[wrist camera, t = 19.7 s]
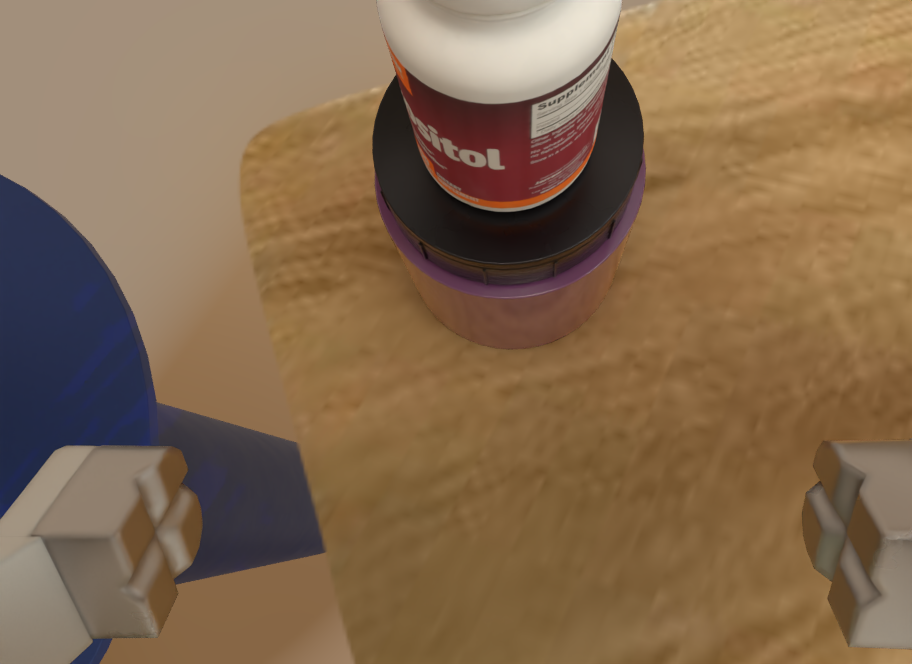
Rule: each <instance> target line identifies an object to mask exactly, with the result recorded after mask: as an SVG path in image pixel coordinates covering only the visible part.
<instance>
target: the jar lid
mask: <svg viewBox="0 0 912 664" xmlns="http://www.w3.org/2000/svg"><path fill="white" fill-rule="evenodd" d="M643 142H644V131H643V120H642V115H641V111H640V107H639V103H638V100H637V98H636V95H635V93H634V90H633V88H632V86H631V85H630V83H629V81H628V79H627V78H626V76H625V74H624V73H623V71H622V70H621V69H620V68H619V66H618V65H617V64H616V62H615V61H614V60H613V59H612V58H611V62H610V68H609V74H608V79H607V84H606V88H605V94H604V99H603V104H602V109H601V115H600V120H599V126H598V131H597V136H596V140H595V144H594V147H593V150H592V153H591V155H590V157H589V160H588V162H587V164H586V165H585V167H584V169H583V170H582V172H581V173H580V175H579V176H578V177H577V178H576V179H575V181H574V182H573V183H572V184H571V185H570V186H569V187H568V188H567V189H565V190H564V191H563V192H562V193H560V194H559V195H557V196H556V197H554V198H553V199H551V200H549V201H547V202H545V203H543V204H541V205H539V206H536V207H533V208H530V209H526V210H521V211H512V212H496V211H489V210H484V209H480V208H476V207H474V206H471V205H469V204H466V203H464V202H462V201H460V200H458V199H456V198H455V197H453V196H452V195H450V194H449V193H448V192H446V191H445V190H444V189H443V188H442V187H441V186H440V185H439V184H438V183H437V182H436V181H435V179H434V178H433V177H432V175H431V174H430V172H429V171H428V169H427V167H426V165H425V163H424V161H423V159H422V156H421V154H420V151H419V148H418V145H417V142H416V138H415V135H414V131H413V128H412V124H411V121H410V118H409V115H408V112H407V108H406V104H405V101H404V98H403V95H402V93H401V88H400V85H399V82H398V78H397V75H396V76H395V77H394V79H393V80H392V82H391V84H390V85H389V87H388V88H387V90H386V92H385V94H384V97H383V99H382V101H381V103H380V106H379V109H378V112H377V116H376V119H375V124H374V131H373V149H372V153H373V161H374V168H375V172H376V175H377V179H378V182H379V185H380V188H381V191H380V193H381V195H382V197H383V199H384V202H385V204H386V206H387V208H388V210H391V212H392V214H393V216H394V218H395V220H396V222H397V224H398V226H399V227H400V229H401V231H402V232H403V234H404V235H405V237H406V238H407V239H408V240H409V241H410V243H411V244H412V245H413V246H414V247H415V248H416V249H417V250H418V251H419V252H420V253H421V254H422V255H423V257H424V259H425V260H427V259H428V260H430V261H431V262H433V263H434V264H436V265H437V266H439V267H440V268H442V269H444V270H446V271H448V272H450V273H452V274H454V275H457V276H460V277H463V278H466V279H469V280H472V281H477V282H482V283H485V285H488V284H499V285H511V284H524V283H530V282H535V281H540V280H543V279H546V278H549V277H553V278H555V277H556V275H558V274H560V273H562V272H564V271H566V270H569V269H571V268H572V267H574V266H575V265H577V264H579V263H580V262H582V261H584V260H585V259H586V258H587V257H589V256H590V255H591V254H592V253H594V252H595V251H596V250H597V249H598V248H599V247H600V246H601V245H602V244H603V243H604V242H605V241H606V240H607V239H610V238H611V236H612V233H613V231H614V229H615V228H616V226H617V225H618V223H619V222H620V220H621V218H622V216H623V214H624V212H625V210H626V207H627V205H628V202H629V199H630V196H631V193H632V190H633V187H634V184H635V181H636V180H637V177H638V174H639V171H640V168H641V165H642V162H643V159H642V154H643Z"/></svg>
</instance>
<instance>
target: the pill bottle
mask: <svg viewBox="0 0 912 664" xmlns="http://www.w3.org/2000/svg"><path fill="white" fill-rule="evenodd" d="M376 3H377V9H378V14H379V18H380V22H381V26H382V30H383V33H384V36H385V39H386V42H387V45H388V49H389V52H390V55H391V58H392V62H393V65H394V68H395V71H396V75H397V78H398V82H399V85H400V88H401V93H402V95H403V98H404V101H405V104H406V108H407V112H408V115H409V118H410V121H411V124H412V128H413V131H414V135H415V138H416V142H417V145H418V148H419V151H420V154H421V156H422V159H423V161H424V163H425V165H426V167H427V169H428V171H429V172H430V174H431V175H432V177H433V178H434V179H435V181H436V182H437V183H438V184H439V185H440V186H441V187H442V188H443V189H444V190H445V191H446V192H448V193H449V194H450V195H452V196H453V197H455V198H456V199H458V200H460V201H462V202H464V203H466V204H469V205H471V206H474V207H476V208H480V209H484V210H489V211H496V212H512V211H521V210H526V209H530V208H533V207H536V206H539V205H541V204H543V203H545V202H547V201H549V200H551V199H553V198H554V197H556V196H557V195H559V194H560V193H562V192H563V191H564V190H565V189H567V188H568V187H569V186H570V185H571V184H572V183H573V182H574V181H575V179H576V178H577V177H578V176H579V175H580V173H581V172H582V170H583V169H584V167H585V165H586V164H587V162H588V160H589V157H590V155H591V153H592V150H593V147H594V144H595V140H596V136H597V131H598V126H599V120H600V115H601V109H602V104H603V99H604V94H605V88H606V84H607V79H608V74H609V68H610V62H611V57H612V52H613V47H614V41H615V37H616V31H617V26H618V21H619V17H620V12H621V6H622V0H376Z"/></svg>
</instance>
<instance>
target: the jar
mask: <svg viewBox="0 0 912 664" xmlns="http://www.w3.org/2000/svg"><path fill="white" fill-rule="evenodd" d="M642 159H643V162H642V165H641V168H640V171H639V174H638V177H637V180H636V181H635V184H634V187H633V190H632V193H631V196H630V199H629V202H628V205H627V207H626V210H625V212H624V214H623V216H622V218H621V220H620V222H619V223H618V225H617V226H616V228H615V229H614V231H613V233H612V236H611V238H610V239H607V240H606V241H605V242H604V243H603V244H602V245H601V246H600V247H599V248H598V249H597V250H596V251H595V252H594V253H592V254H591V255H590V256H589V257H587V258H586V259H585V260H584V261H582V262H580V263H579V264H577V265H575V266H574V267H572V268H571V269H569V270H566V271H564V272H562V273H560V274H558V275H556V277H555V278H553V277H549V278H546V279H543V280H540V281H535V282H530V283H524V284H511V285H499V284H488V285H485V283H482V282H477V281H472V280H469V279H466V278H463V277H460V276H457V275H454V274H452V273H450V272H448V271H446V270H444V269H442V268H440V267H439V266H437V265H436V264H434V263H433V262H431V261H430V260H428V259H427V260H425V259H424V257H423V255H422V254H421V253H420V252H419V251H418V250H417V249H416V248H415V247H414V246H413V245H412V244H411V243H410V241H409V240H408V239H407V238H406V237H405V235H404V234H403V232H402V231H401V229H400V227H399V226H398V224H397V222H396V220H395V218H394V216H393V214H392V212H391V210H388V208H387V206H386V204H385V202H384V199H383V197H382V195H381V193H380V191H381V188H380V185H379V182H378V179H377V175H376V172H375V191H376V199H377V204H378V207H379V211H380V214H381V217H382V220H383V222H384V224H385V226H386V229H387V231H388V233H389V235H390V237H391V239H392V241H393V243H394V245H395V247H396V249H397V251H398V253H399V255H400V257H401V258H402V260H403V262H404V264H405V266H406V268H407V270H408V272H409V274H410V276H411V278H412V280H413V282H414V284H415V286H416V288H417V290H418V292H419V294H420V296H421V297H422V299H423V301H424V302H425V304H426V305H427V307H428V308H429V310H430V311H431V312H432V313H433V314H434V316H435V317H436V318H437V319H438V320H439V321H441V322H442V323H443V324H444V325H445V326H446V327H447V328H449V329H450V330H452V331H453V332H455V333H456V334H458V335H460V336H462V337H463V338H465V339H467V340H469V341H472V342H475V343H478V344H481V345H484V346H488V347H493V348H500V349H526V348H531V347H537V346H541V345H544V344H547V343H551V342H553V341H555V340H558V339H560V338H562V337H564V336H566V335H567V334H569V333H571V332H572V331H574V330H576V329H577V328H578V327H579V326H581V325H582V324H583V323H584V322H585V321H587V320H588V319H589V318H590V317H591V315H592V314H593V313H594V312H595V311H596V310H597V309H598V307H599V306H600V304H601V303H602V302H603V300H604V299H605V297H606V295H607V293H608V291H609V289H610V287H611V285H612V282H613V279H614V276H615V274H616V271H617V268H618V265H619V263H620V260H621V257H622V254H623V252H624V249H625V246H626V244H627V241H628V238H629V235H630V233H631V230H632V227H633V224H634V222H635V219H636V216H637V213H638V210H639V208H640V205H641V202H642V197H643V192H644V187H645V174H646V165H645V154H644V149H643V154H642Z"/></svg>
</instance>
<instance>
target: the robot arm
mask: <svg viewBox="0 0 912 664" xmlns="http://www.w3.org/2000/svg"><path fill="white" fill-rule="evenodd" d="M813 467H814V469H815V471H816V473H817V475H818V477H819V479H820V481H819V482H818V483H817V484H816V485H815V486H813V487H812V488H811V489H810V490H809V491H807V492H806V496H805V501H804V505H803V510H802V524H803V537H804V541H805V545H806V549H807V552H808V555H809V557H810V559H811V562H812V564H813V567H814V569H816V570H817V571H818V572H820V573H821V574H822V575H824V576H825V577H826V578H828V579H829V580H830V581H832V584H831V588H830V591H829V595H828V598H827V599H828V601H829V603H830V606H831V608H832V610H833V612H834V615H835V617H836V619H837V621H838V624H839V626H840V628H841V630H842V633H843V635H844V637H845V639H846V642H847V644H848V646H849V647H865V648H890V649H912V438H911V439H909V440H904V439H902V440H836V441H823V442H822V443H821V445H820V446H819V448H818V449H817V452H816V455H815V459H814V463H813ZM187 471H188V467H187V465H186V462H185V460H184V457H183V454H182V452H181V450H179V449H177V448H174V447H172V446H106V445H102V446H64V447H62V448H60V449H58V450H56V451H54V453H53V454H52V455H51V456H50V458H49V459H48V460H47V461H46V463H45V464H44V465H43V466H42V468H41V469H40V470H39V471H38V473H37V474H36V475H35V477H34V478H33V479H32V480H31V482H30V483H29V484H28V485H27V487H26V488H25V489H24V490H23V492H22V493H21V494H20V496H19V497H18V498H17V499H16V501H15V502H14V503H13V504H12V506H11V507H10V508H9V509H8V511H7V512H6V513H5V515H4V516H3V517H2V518H1V520H0V664H70V663H71V662H72V661H73V660H74V659H75V658H76V657H77V656H79V655H80V654H81V653H82V652H83V651H84V650H85V649H86V648H87V647H88V646H89V645H90V644H92V642H93V640H92V639H97V638H154V637H155V638H157V637H158V636H159V634H160V632H161V630H162V628H163V626H164V623H165V621H166V619H167V617H168V615H169V613H170V611H171V608H172V606H173V604H174V602H175V600H176V598H177V595H178V591H177V588H176V585H175V582H174V580H173V579H174V578H176V577H177V576H178V575H179V574H181V573H182V572H183V571H185V570H186V569H187V568H188V567H190V566H191V565H192V562H193V560H194V558H195V555H196V553H197V551H198V548H199V544H200V538H201V532H202V526H203V525H202V514H201V507H200V504H199V501H198V497H197V495H196V494H195V493H194V492H193V491H191V490H190V489H189V488H188V487H187V486H185V485H184V484H183V483H182V481H183V479H184V477H185V475H186V473H187Z"/></svg>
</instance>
